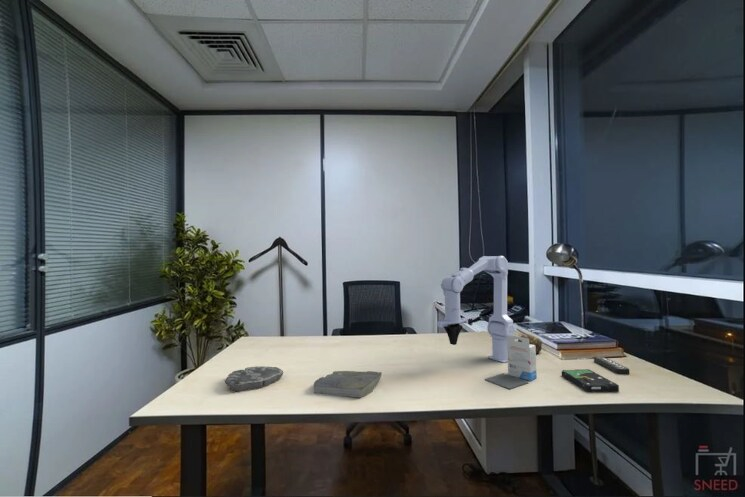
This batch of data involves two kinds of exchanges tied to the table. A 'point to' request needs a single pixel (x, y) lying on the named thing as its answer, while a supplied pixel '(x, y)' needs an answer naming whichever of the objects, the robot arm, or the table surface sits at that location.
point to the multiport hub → (611, 365)
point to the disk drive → (590, 381)
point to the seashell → (533, 341)
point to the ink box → (521, 358)
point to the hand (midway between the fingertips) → (453, 344)
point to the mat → (506, 381)
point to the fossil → (347, 383)
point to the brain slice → (253, 378)
